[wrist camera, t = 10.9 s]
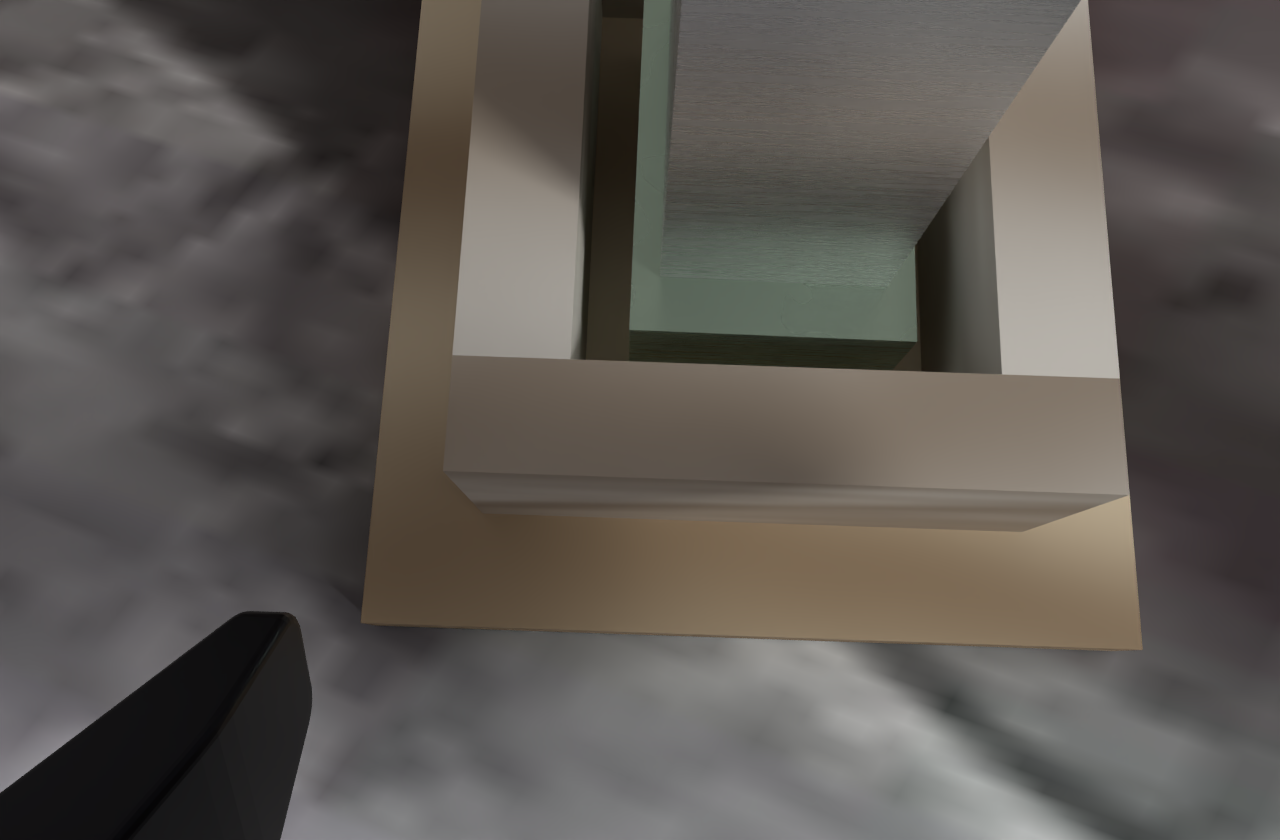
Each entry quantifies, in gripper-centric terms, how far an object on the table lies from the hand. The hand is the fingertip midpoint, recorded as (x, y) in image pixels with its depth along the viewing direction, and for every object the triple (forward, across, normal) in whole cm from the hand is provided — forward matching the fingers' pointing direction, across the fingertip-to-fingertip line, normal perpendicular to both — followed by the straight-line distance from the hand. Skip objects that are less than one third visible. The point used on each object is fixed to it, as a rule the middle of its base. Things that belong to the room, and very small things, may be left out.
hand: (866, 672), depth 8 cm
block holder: (+11, 0, +1) cm, 11 cm away
